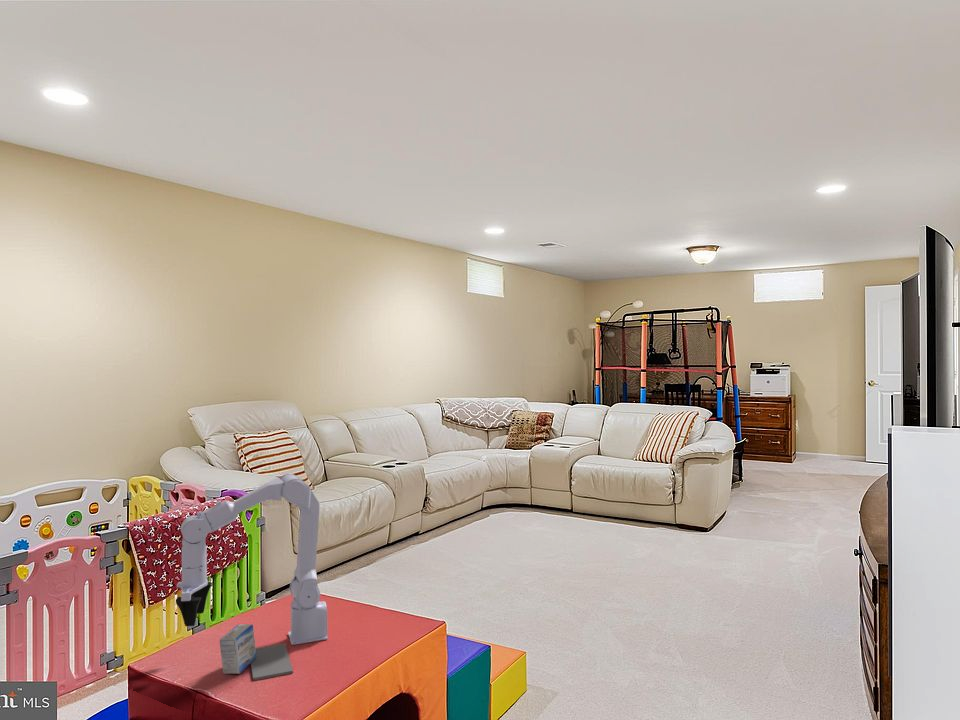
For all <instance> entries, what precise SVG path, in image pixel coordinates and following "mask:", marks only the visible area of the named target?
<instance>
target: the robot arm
mask: <svg viewBox="0 0 960 720" xmlns="http://www.w3.org/2000/svg"><path fill="white" fill-rule="evenodd" d="M282 497H283V499H284V501H286V502H288V503H290V504H293V505H295V506H296V507H297V508H298V509H299V510H300V511H299V526H298V528H299V529H298V541H297V553H296V555H297V558H296V568H295V569H294V573H293V578H292V580H291V582H290V583H289V592H290V594H291V596H293V599H292V601H291V603H290V631H288V632H287V635H288V638H290V639H289V641H290V644H291V646H294V645H295V646H296V645H301V644H307V643H312V642H319V641H324V640H328V639H329V637H328V608H327V607H328V606H327V602H326V601H324V600H323V601H320V598H321V590H320V588H319V586H318V581H319V580H318V579H319V578H318V576H317V575H318V574H317V569H316V568H317V567H316V566H317V554H318V552H317V551H318V537H319V519H320V507H321V505H320V502H319V500H318V498H317V497H316V495H315V494H314V492H313V490H312V488H311V486H310V485H309V484H307V483H306V482H305V481H303V479H301V478H300V477H298V476H297V475H296V474H294V473H285V474H283V475H281V476H280V477H279V476H278V477H275V478H273V479H271V480H269V481H268V482H266V483H264V484H262V485H260V486H259V487H257V488H255V489H253V490H251V491H250V492H248V493H246V494H244V495H242V496H241V497H239V498H237V499H235V500H234V501H230V500H226V499H225V500H223V501H221V500H218V501H216V502H215V505H213V506H211V507H210V508H208V509H205V510H203V511H201V510H199V511H197V512H196V515H194V514H193V515H190V516H189V515H188V516H187V517H186V518H185V519H184V520H183V522H181V526H180V529H179V530H180V531H181V535H182V540H181V545H182V547H181V581H178V582H177V583H176V588H180V590H181V593H180V596H177V597H176V598H175V604H176V606H177V607H178V608H179V611H180V614H181V617H182V621H183V624H184V626H185V627H194V626H195V625H196V621H197V616H198V615H199V614H204V612H205V608H206V604H207V603H206V602H207V599H208V596H209V592H210V589H211V587H212V585H213V582H211V581H208V574H207V573H208V572H207V569H208V568H207V567H208V562H207V558H208V556H207V550H208V549H207V544H206V540H207V539H206V538H207V537H208V534H210V533H211V534H212V533H213V532H215V531H217V530H219V529H221V528H223V527H225V526H226V525H227V526H228V525H229V524H231V523H233V522H234V521H236V520H237V517H238V515H239V514H240V513H241V512H245V511H246V510H249V509H251V508H253V507H255V506H257V505H260V504H261V503H263V502H265V501H267V500H271V501H279V502H281V501H282Z"/></svg>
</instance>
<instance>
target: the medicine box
mask: <svg viewBox="0 0 960 720" xmlns="http://www.w3.org/2000/svg"><path fill="white" fill-rule="evenodd" d="M254 631H255V630H254V624H250V623H248V624H247V623H246V624H245V623H242V624H236V626H235V627H233V628H232V629H231V630H229V631H228V632H226V634H224V635H223V637H221V638H220V639H219V640H218V641H219V648H220V656H221V666H222V673H223V674H224V675H225V674H228V675H231V674H232V675H233V674H234V675H235V674H237V675H238V674H239V675H240V674H241V673H242V672H243V671H244V670H245V669H247V667H248V666H249V665H251V662H252V661H253V660H254V659H255V658H256V648H257V647H256V640H255V632H254Z"/></svg>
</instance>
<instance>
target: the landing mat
mask: <svg viewBox="0 0 960 720" xmlns="http://www.w3.org/2000/svg"><path fill="white" fill-rule="evenodd" d="M255 648H256V658H255V659H254V660H253V661H252V662H251V663H250V668H251V675H252V682H253V681H259V680H264V679H268V678H274V677H279V676H284V675H290V674H294V669H293V666H292V662H291V659H290V656H289V652H288V649H287V645H286V642H284V643H278V644H273V645H267V646H260V647H255Z"/></svg>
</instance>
